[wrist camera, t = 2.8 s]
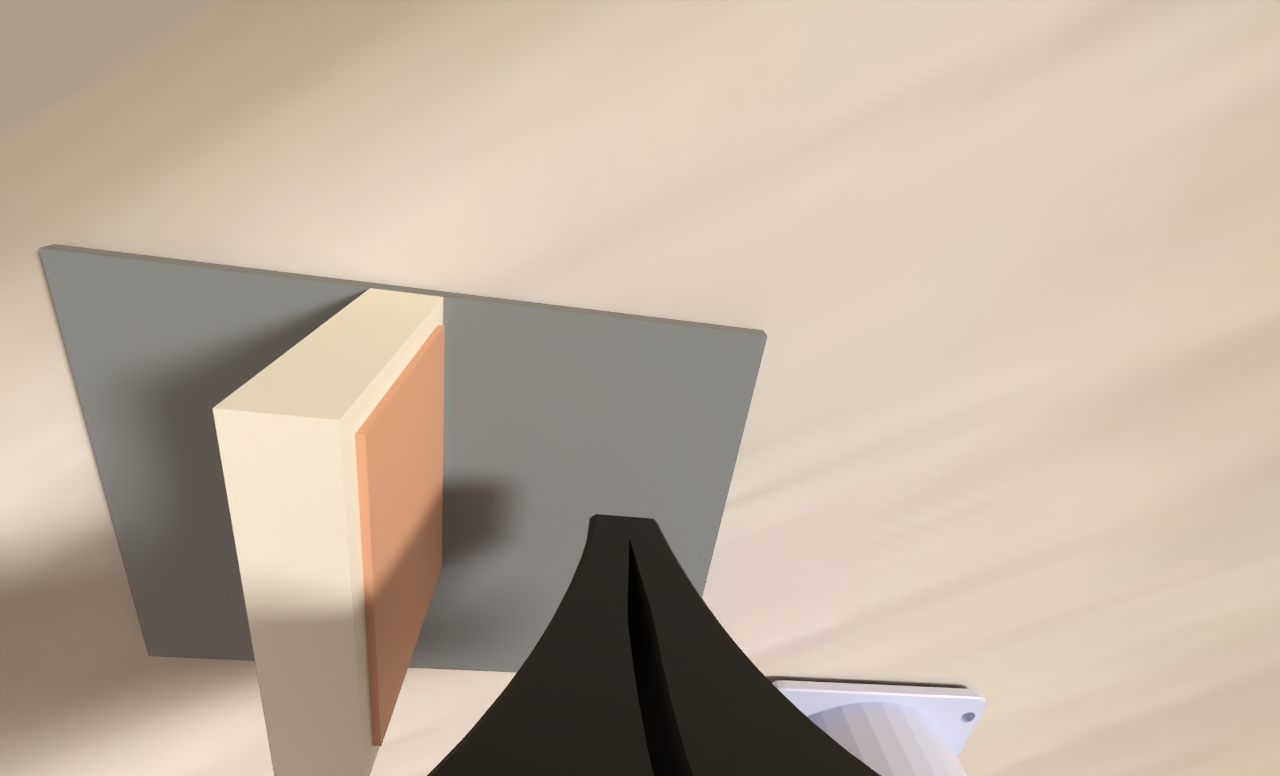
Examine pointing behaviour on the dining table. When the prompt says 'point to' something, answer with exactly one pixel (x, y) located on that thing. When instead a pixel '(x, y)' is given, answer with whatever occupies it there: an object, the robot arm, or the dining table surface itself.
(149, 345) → the mat
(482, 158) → the dining table surface
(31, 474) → the dining table surface
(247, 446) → the block
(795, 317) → the dining table surface
